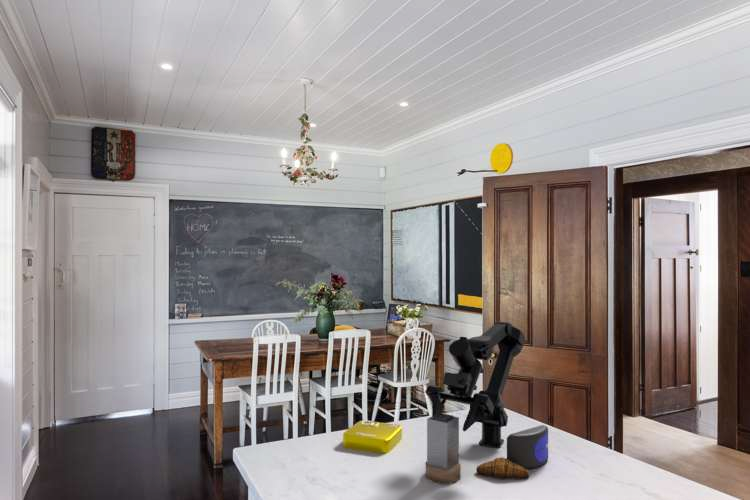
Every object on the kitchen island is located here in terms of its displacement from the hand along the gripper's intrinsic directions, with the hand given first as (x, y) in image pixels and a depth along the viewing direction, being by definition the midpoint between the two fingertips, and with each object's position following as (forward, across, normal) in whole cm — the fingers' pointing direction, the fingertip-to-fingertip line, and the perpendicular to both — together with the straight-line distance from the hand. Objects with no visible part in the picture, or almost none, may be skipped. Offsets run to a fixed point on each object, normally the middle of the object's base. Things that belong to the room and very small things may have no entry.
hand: (448, 426), depth 134 cm
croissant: (+4, +12, +14) cm, 19 cm away
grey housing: (+8, 0, +4) cm, 9 cm away
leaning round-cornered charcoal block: (-4, +14, +22) cm, 27 cm away
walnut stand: (+10, 0, +6) cm, 12 cm away
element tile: (+5, -30, +13) cm, 33 cm away
